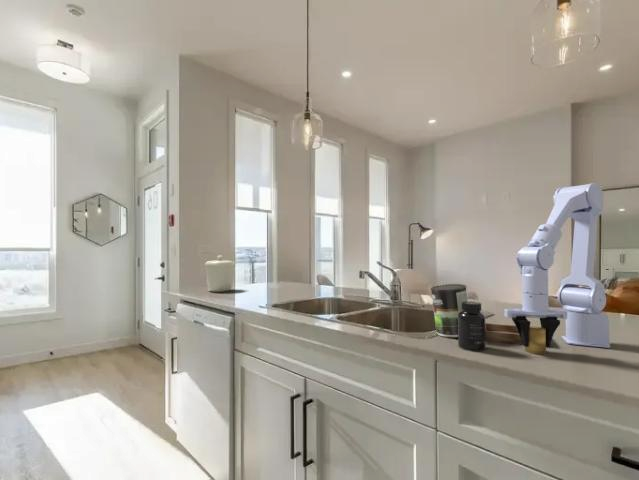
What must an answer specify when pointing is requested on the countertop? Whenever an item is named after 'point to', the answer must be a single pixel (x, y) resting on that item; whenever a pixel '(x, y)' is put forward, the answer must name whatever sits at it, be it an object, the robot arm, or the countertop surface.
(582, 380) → the countertop surface
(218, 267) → the canister
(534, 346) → the tan wooden cylinder
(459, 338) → the supplement bottle
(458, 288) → the coffee can
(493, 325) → the tray
